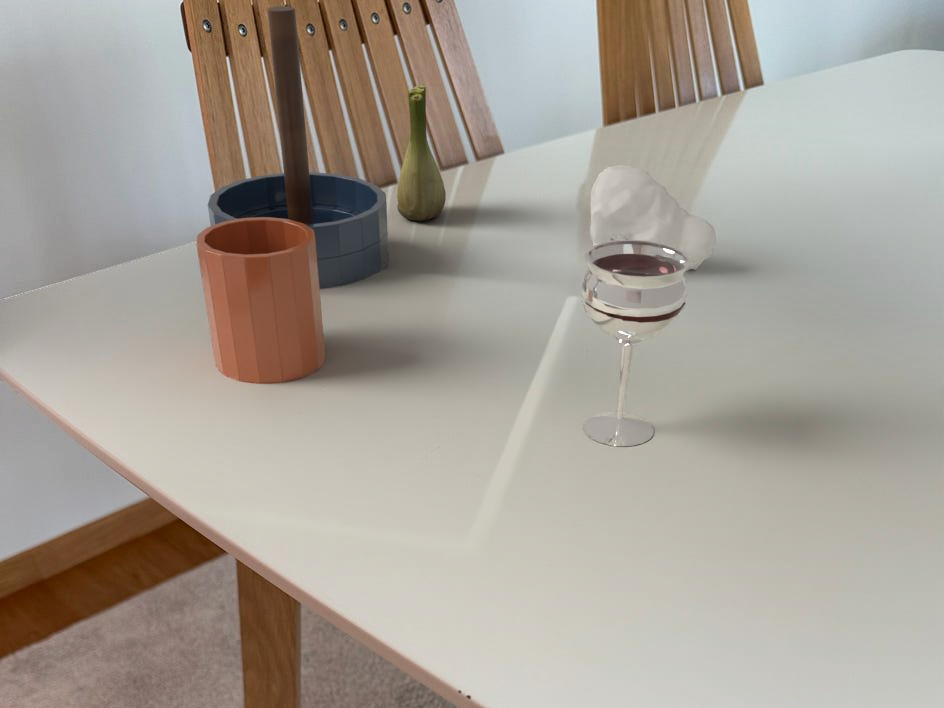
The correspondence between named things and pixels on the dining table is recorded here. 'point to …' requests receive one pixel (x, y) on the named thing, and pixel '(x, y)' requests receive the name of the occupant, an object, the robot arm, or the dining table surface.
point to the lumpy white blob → (646, 214)
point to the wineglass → (631, 315)
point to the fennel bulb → (419, 167)
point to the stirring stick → (291, 112)
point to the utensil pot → (262, 298)
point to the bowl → (320, 220)
